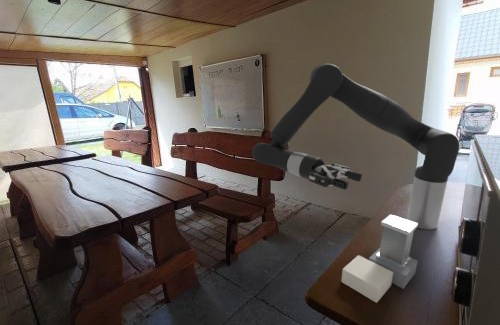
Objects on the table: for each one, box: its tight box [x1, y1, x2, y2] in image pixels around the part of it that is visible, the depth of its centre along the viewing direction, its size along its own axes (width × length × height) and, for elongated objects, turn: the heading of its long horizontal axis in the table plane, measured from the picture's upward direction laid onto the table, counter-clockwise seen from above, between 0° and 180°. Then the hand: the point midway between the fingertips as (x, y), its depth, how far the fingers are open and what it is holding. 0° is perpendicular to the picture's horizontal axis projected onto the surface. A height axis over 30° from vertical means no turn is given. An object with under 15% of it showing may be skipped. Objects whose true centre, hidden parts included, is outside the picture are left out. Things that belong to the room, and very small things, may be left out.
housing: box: [376, 213, 418, 270], centre depth 67 cm, size 6×6×11 cm
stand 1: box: [341, 254, 393, 304], centre depth 66 cm, size 8×9×4 cm
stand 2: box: [368, 247, 419, 290], centre depth 69 cm, size 8×9×4 cm
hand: (354, 181), depth 72 cm, fingers open, 8 cm apart
